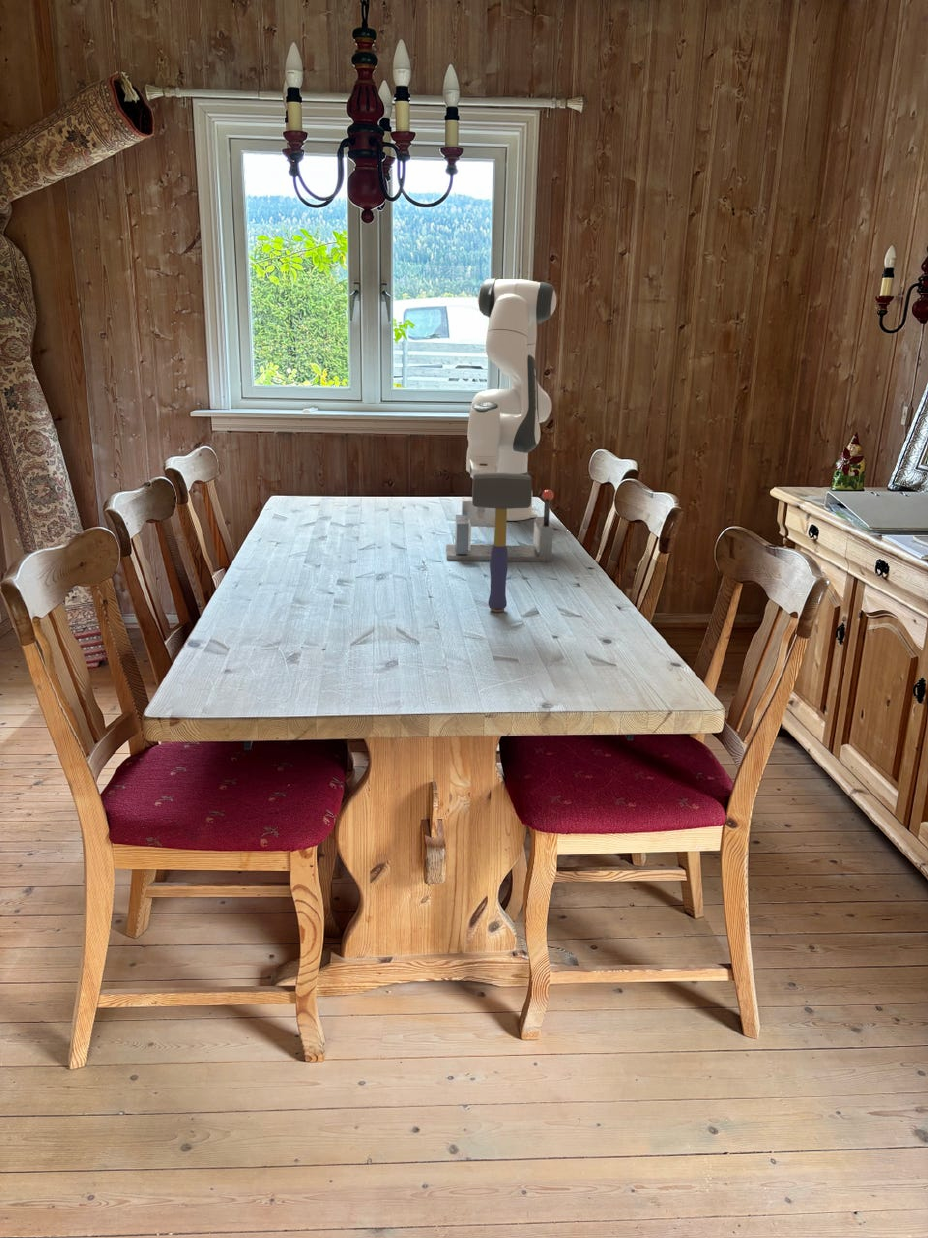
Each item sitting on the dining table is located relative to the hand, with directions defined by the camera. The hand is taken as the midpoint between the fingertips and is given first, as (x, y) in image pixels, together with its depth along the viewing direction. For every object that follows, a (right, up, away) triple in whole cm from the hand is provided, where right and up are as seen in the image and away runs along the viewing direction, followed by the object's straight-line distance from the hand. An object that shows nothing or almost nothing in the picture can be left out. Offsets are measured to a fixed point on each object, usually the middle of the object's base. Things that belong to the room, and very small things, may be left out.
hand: (480, 515), depth 268 cm
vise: (+4, -11, -8) cm, 15 cm away
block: (0, -2, +1) cm, 3 cm away
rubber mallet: (+3, -27, -55) cm, 61 cm away
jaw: (-5, -10, -9) cm, 14 cm away
